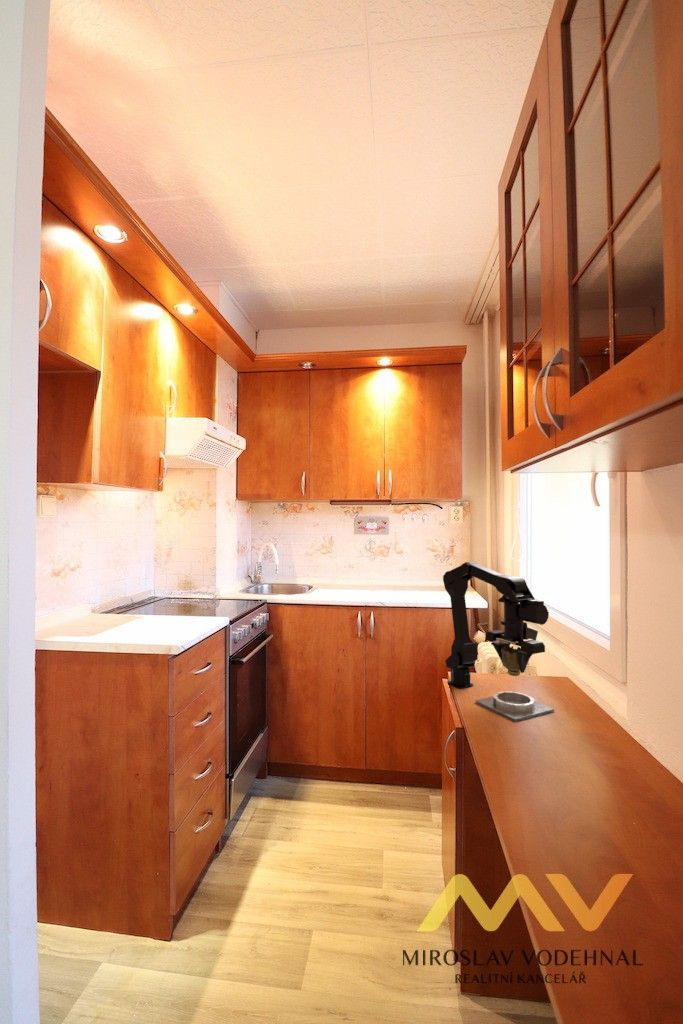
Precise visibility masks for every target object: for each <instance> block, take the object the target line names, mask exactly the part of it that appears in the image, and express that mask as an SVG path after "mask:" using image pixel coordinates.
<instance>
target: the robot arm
mask: <svg viewBox="0 0 683 1024" xmlns="http://www.w3.org/2000/svg"><path fill="white" fill-rule="evenodd" d="M473 578H476V579H478V580H480V581H482V582H484V583H486V584H489V585H490V586H493V587H494V588H495V589H496V591H497V592H498V593H500V594H501V595H502V596H501V597H500V598H498V599H497V602H499V603H503V620H501V621H500V624H501V625H503V631H502V630H499V629H496V630H495V629H494V630H488V631H487V632H486V633H485V639H484V640H485V641H488V642H491V643H490V644H491V645H492V647H493V648H494V650H495V651H496V653H497V655H498V657H499V660H500V661H501V664H502V666H503V667H504V668H505V666H504V664H503V660H502V652H501V648H502V647H503V648H504V646H505V647H506V648H507V646H510V647H511V645H514V646H517V647H520V648H521V650H520V651H517V656H518V662H519V668H520V674H524V673H525V671H526V668H527V665H528V663H529V661H530V659H531V657H532V656H533V655H535V654H542V653H546V645H545V643H544V642H542V641H539V640H537V638H538V637H537V636H538V633H539V631H538V630H536V629H533V628H531V627H528V623H531V624H535V625H541V626H543V625H545V624H546V623H547V622H548V619H549V616H550V615H549V613H550V612H549V610H548V608H547V606H546V605H545V603H544V602H545V601H544V600H542V599H541V600H536V598H535V597H534V596H533V593H532V592H531V590H530V588H529V587H528V585H527V582H526V580H525V578H524V577H520V576H516V575H509V574H503V573H500V572H497V571H495V570H494V569H491V568H488V567H486V566H483V565H482V564H479V563H478V562H477V561H466V562H463V563H462V564H461V565H460V566H457V567H455V568H453V569H451V570H448V571H447V570H446V572H444V575H443V576H442V580H443V582H442V583H443V586H444V589H445V591H446V593H447V595H449V597H450V606H451V616H452V623H453V624H452V625H453V633H454V640H453V641H452V645H451V648H450V649H451V650H450V651H451V653H450V655H449V656H448V658H447V659H445V661H444V662H445V666H446V668H448V669H450V680H448V681H447V682H446V684H449V685H451V686H452V687H455V688H457V689H465V688H469V687H474V684H473V683H471V671H470V670H471V669H470V668H474V666H475V663H476V661H477V659H478V656H479V653H478V645H477V642H474V641H473V640H472V638H471V637H470V630H469V623H468V622H469V621H468V615H467V614H468V613H467V602H466V594H467V591H468V589H469V581H470V580H471V579H473ZM527 622H528V623H527ZM501 625H500V626H501Z"/></svg>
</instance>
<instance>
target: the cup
mask: <svg viewBox="0 0 683 1024" xmlns="http://www.w3.org/2000/svg"><path fill="white" fill-rule="evenodd" d="M520 650H521V646H517V648H514V646H513V645H510V646H507V648H506V647H505V646H504V648H503V647H502V648H501V652H502V660H503V664H504V666H505V667H504V666H503V667H504V668H505V669H506V670H507V674H508V675H509V676H512V677H518V676H520V675H521V672H520V668H519V662H518V656H517V651H520ZM503 664H502V665H503Z"/></svg>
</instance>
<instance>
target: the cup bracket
mask: <svg viewBox="0 0 683 1024" xmlns="http://www.w3.org/2000/svg"><path fill="white" fill-rule="evenodd" d="M474 701H475V704H477V705H479V706H480V707H483V708H485V709H487V710H490V712H491V711H492V712H493V713H496V714H497V715H500V716H502V717H504V718H506V719H508V720H510V721H512V722H514V723H518V722H521V721H524V720H529V719H533V718H536V717H540V716H544V715H547V714H551V713H554V712H555V709H554V708H552V707H550V706H547V705H545V704H542V703H541V702H538V701H535V699H534V698H533V697H532V696H530V695H528V694H525V693H522V692H518V691H509V690H507V691H499V692H495V693H494V694H493V696H489V697H485V698H480V699H476V700H474Z"/></svg>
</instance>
